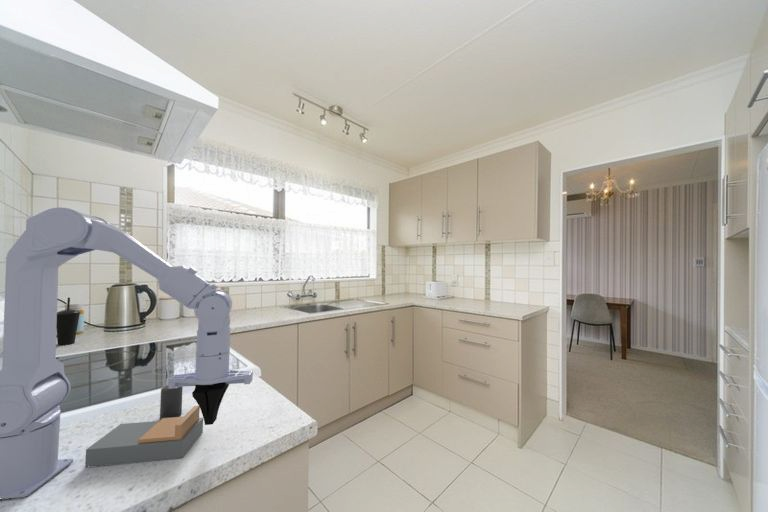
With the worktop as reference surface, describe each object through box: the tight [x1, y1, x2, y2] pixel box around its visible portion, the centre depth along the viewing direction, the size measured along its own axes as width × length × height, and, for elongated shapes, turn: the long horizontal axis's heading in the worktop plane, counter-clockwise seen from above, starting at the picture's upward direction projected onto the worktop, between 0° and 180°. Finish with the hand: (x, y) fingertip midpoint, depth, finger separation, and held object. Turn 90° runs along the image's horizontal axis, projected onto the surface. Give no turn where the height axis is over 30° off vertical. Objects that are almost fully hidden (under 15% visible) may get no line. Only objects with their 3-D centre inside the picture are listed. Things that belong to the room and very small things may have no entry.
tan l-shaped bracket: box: [138, 405, 201, 443], centre depth 54 cm, size 7×7×3 cm
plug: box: [159, 385, 184, 421], centre depth 65 cm, size 4×4×8 cm
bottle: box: [64, 302, 85, 335], centre depth 139 cm, size 7×7×15 cm
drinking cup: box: [56, 297, 81, 346], centre depth 122 cm, size 8×8×20 cm
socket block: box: [84, 417, 204, 468], centre depth 53 cm, size 15×8×3 cm, turn 100°
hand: (210, 422), depth 55 cm, fingers closed
